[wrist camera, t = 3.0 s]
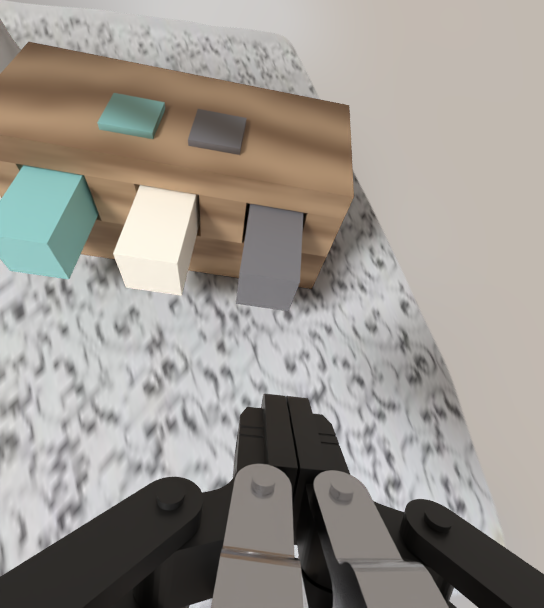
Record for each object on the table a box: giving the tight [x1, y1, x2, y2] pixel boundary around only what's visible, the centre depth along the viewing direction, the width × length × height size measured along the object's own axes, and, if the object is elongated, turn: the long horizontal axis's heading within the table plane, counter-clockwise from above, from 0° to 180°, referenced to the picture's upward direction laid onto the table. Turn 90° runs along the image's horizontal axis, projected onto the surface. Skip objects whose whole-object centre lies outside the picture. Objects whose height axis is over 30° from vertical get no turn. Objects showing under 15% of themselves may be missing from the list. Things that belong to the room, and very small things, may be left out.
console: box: [0, 42, 354, 289], centre depth 31 cm, size 11×26×12 cm, turn 85°
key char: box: [236, 203, 303, 311], centre depth 27 cm, size 10×4×4 cm, turn 175°
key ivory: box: [113, 185, 200, 296], centre depth 27 cm, size 10×4×4 cm, turn 176°
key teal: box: [0, 165, 99, 279], centre depth 26 cm, size 10×4×4 cm, turn 175°
